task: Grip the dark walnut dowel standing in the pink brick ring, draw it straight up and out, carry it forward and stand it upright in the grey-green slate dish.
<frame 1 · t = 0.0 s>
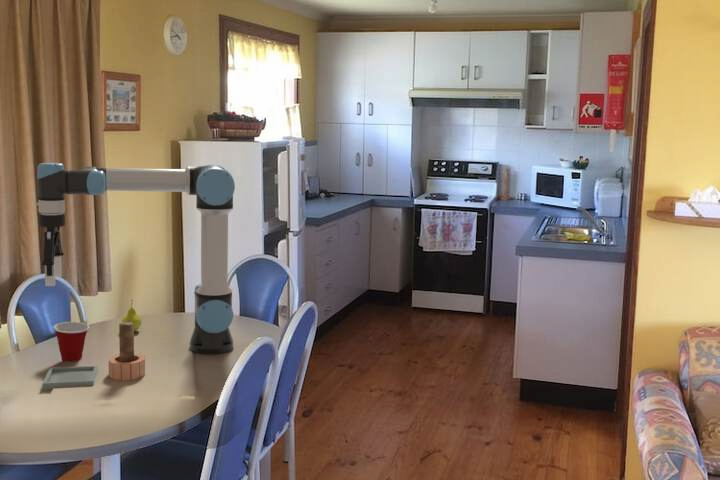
hand: (53, 281, 227), 28 cm above the table, fingers open, 13 cm apart
dowel: (127, 374, 225), point 1 cm above the table, touching pink brick ring
fruit: (131, 332, 273), on the table
dish: (71, 381, 220), on the table
pink brick ring: (127, 377, 225), on the table
plastic cup: (72, 361, 238), on the table
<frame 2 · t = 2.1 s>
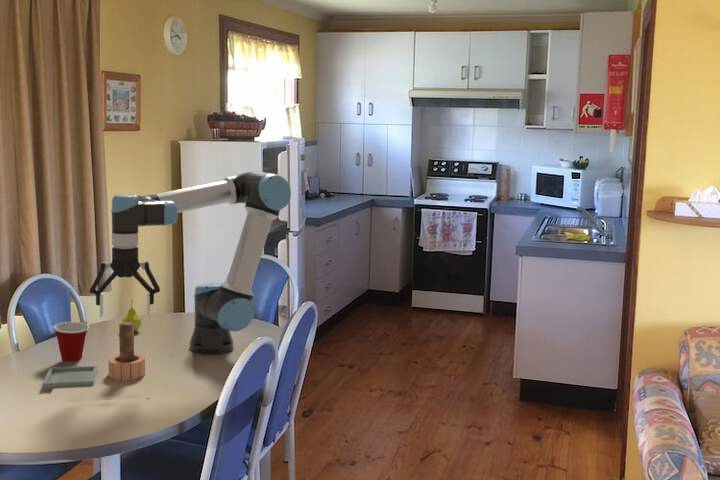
hand: (125, 315, 222), 20 cm above the table, fingers open, 13 cm apart
nothing on the table moved.
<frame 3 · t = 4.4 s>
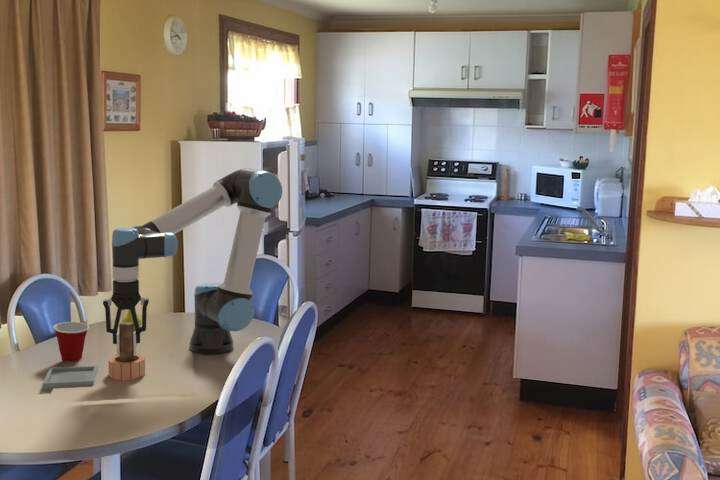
hand: (126, 353, 224), 8 cm above the table, fingers closed on dowel, 4 cm apart
dowel: (127, 374, 225), point 1 cm above the table, touching pink brick ring, gripper
everything else where it was.
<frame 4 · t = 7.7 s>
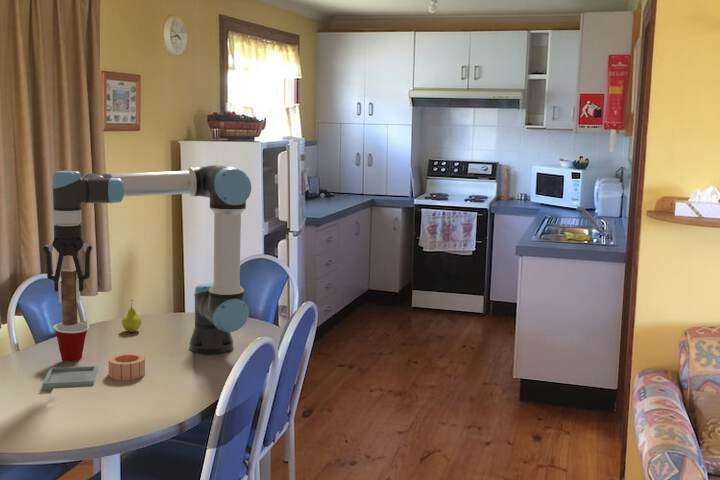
hand: (69, 301, 216), 25 cm above the table, fingers closed on dowel, 4 cm apart
dowel: (70, 323, 217), point 18 cm above the table, touching gripper
everything else where it was.
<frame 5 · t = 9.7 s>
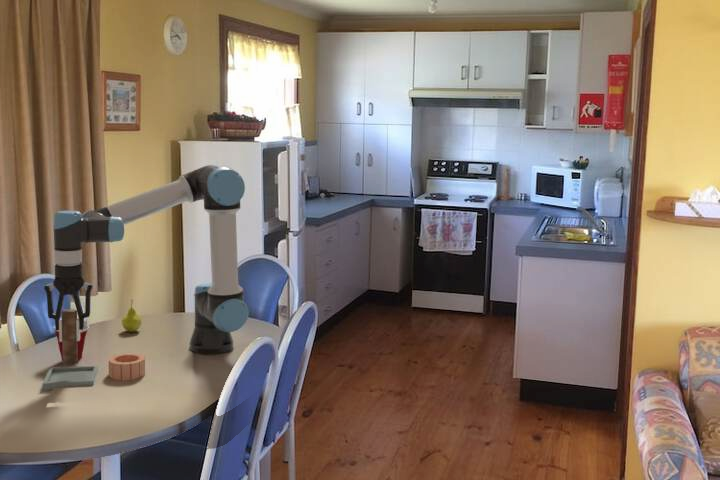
hand: (70, 339, 218), 13 cm above the table, fingers closed on dowel, 4 cm apart
dowel: (70, 362, 219), point 6 cm above the table, touching gripper
everything else where it was.
when the fingers open (9 cm above the table, at t = 11.3 s): dowel stays where it is, resting on dish.
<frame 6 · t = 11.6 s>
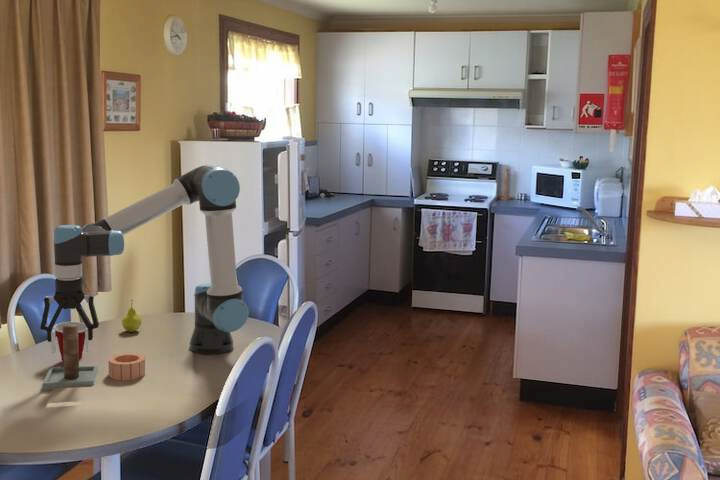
hand: (70, 351, 219), 9 cm above the table, fingers open, 9 cm apart
dowel: (71, 377, 220), point 1 cm above the table, touching dish
everything else where it was.
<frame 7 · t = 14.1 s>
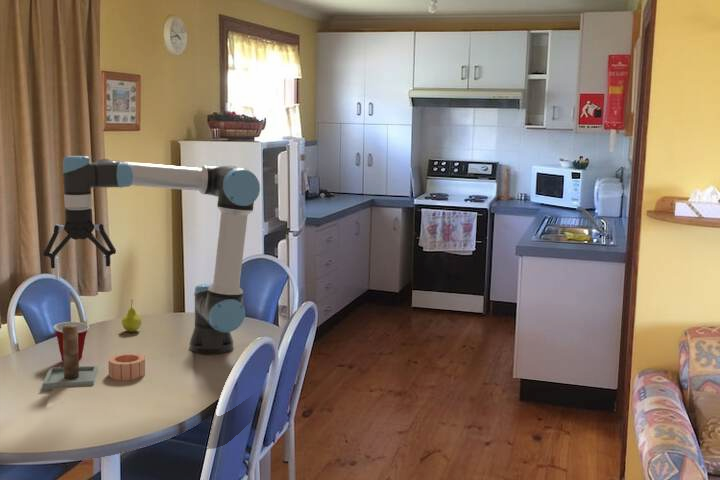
hand: (81, 277, 220), 31 cm above the table, fingers open, 13 cm apart
nothing on the table moved.
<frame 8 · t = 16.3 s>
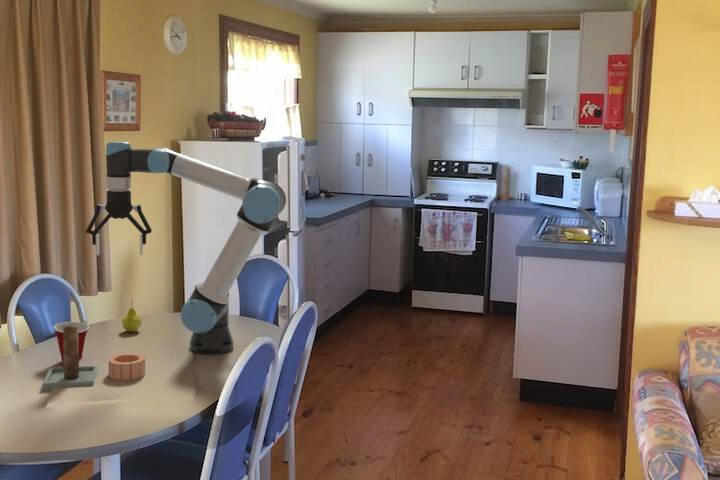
hand: (119, 254, 239), 35 cm above the table, fingers open, 13 cm apart
nothing on the table moved.
at the end: dowel inside the target area on the dish (0.0 cm from its centre), point 1.2 cm above the dish's base; dowel tilted 1°; the gripper is holding nothing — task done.
